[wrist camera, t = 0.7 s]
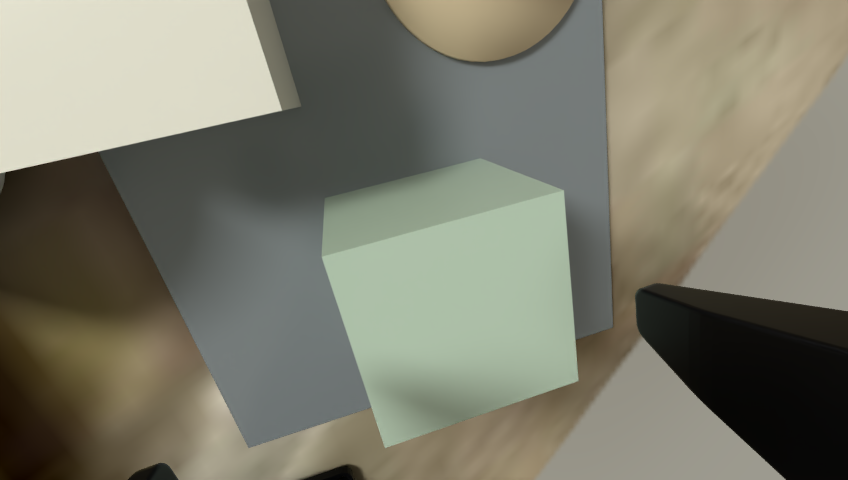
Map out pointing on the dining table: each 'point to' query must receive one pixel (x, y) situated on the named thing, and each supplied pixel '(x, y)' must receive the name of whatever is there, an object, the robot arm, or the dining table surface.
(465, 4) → the tan flat disc
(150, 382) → the dining table surface
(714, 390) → the robot arm
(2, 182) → the teacup
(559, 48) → the slate board
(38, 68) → the ivory cube
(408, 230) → the frosted jade cube
